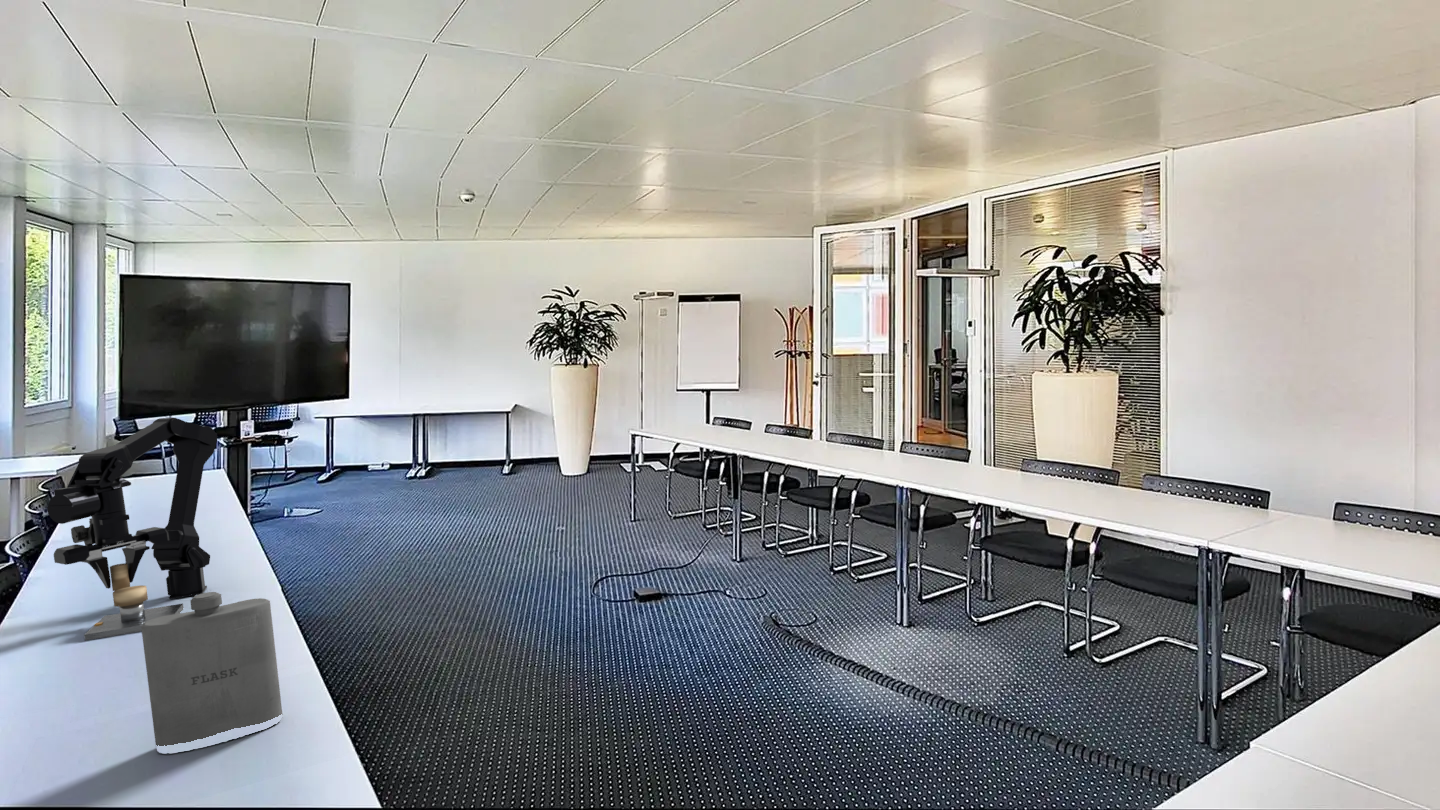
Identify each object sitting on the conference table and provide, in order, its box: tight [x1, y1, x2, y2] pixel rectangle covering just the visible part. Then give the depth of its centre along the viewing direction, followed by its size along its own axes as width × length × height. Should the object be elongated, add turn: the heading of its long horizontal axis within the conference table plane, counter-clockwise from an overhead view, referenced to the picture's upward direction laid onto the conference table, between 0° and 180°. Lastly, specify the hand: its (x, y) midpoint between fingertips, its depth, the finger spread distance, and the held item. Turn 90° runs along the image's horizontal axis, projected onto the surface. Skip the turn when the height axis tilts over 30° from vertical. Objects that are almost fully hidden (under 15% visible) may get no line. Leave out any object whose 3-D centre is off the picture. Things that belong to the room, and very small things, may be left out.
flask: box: [141, 591, 283, 746], centre depth 111 cm, size 15×6×20 cm, turn 122°
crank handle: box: [109, 562, 149, 607], centre depth 167 cm, size 10×6×7 cm, turn 50°
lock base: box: [83, 602, 185, 642], centre depth 166 cm, size 14×13×4 cm
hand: (119, 585), depth 169 cm, fingers open, 4 cm apart
